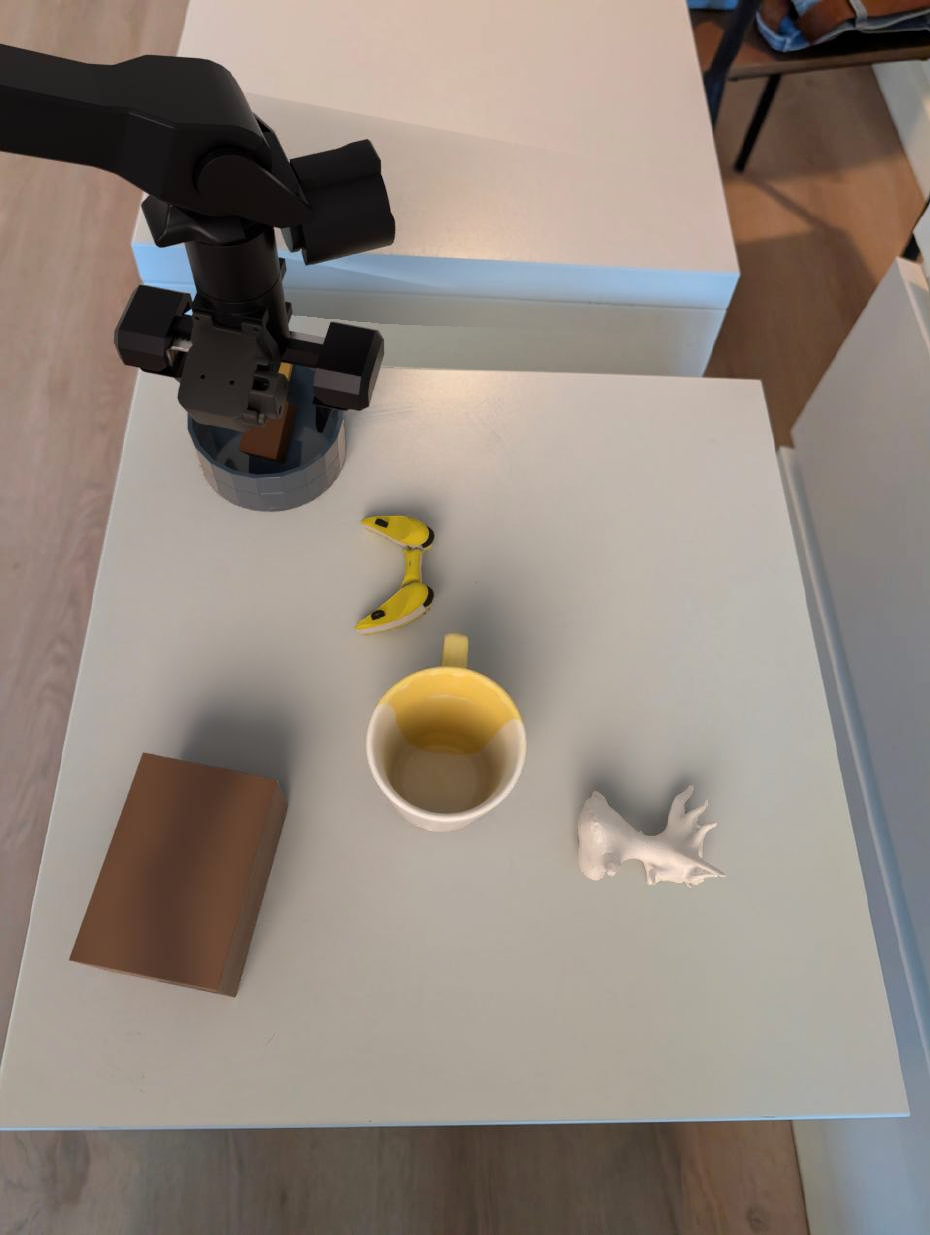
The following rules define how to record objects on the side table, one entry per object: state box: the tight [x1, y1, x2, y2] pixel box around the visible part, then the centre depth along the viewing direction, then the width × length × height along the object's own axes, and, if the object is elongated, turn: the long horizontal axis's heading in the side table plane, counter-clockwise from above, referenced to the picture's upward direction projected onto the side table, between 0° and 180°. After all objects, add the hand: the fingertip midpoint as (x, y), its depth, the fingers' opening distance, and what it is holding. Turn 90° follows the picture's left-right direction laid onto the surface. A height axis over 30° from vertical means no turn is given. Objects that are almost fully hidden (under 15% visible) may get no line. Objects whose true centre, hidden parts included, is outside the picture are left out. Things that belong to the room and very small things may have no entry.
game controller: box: [354, 515, 436, 636], centre depth 73 cm, size 10×6×4 cm, turn 0°
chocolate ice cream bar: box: [239, 362, 297, 464], centre depth 76 cm, size 3×9×3 cm, turn 167°
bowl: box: [186, 365, 347, 513], centre depth 76 cm, size 12×12×5 cm
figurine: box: [577, 784, 727, 889], centre depth 64 cm, size 10×8×10 cm
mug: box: [365, 632, 528, 833], centre depth 63 cm, size 14×10×10 cm
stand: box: [68, 752, 289, 998], centre depth 60 cm, size 9×13×7 cm
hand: (266, 417), depth 75 cm, fingers open, 9 cm apart
